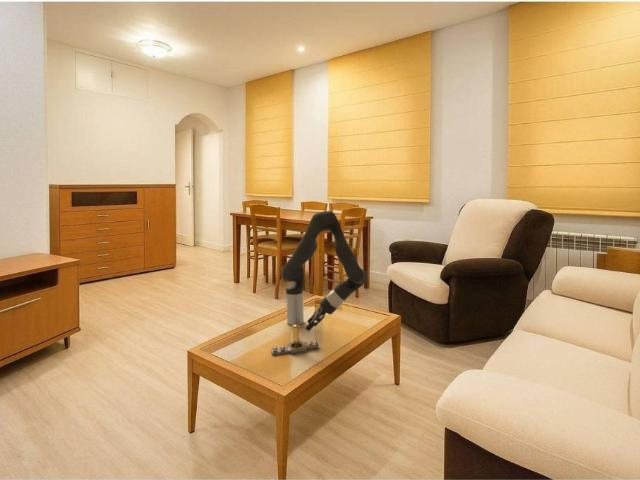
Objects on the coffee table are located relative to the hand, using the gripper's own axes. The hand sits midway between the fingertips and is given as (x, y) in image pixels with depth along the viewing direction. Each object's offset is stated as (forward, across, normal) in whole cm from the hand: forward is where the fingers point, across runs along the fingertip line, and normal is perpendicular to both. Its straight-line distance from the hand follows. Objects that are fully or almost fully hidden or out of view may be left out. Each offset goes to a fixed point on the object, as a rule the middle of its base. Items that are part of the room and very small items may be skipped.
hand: (307, 326), depth 176 cm
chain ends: (+12, 0, +4) cm, 13 cm away
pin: (+12, 0, +4) cm, 13 cm away
